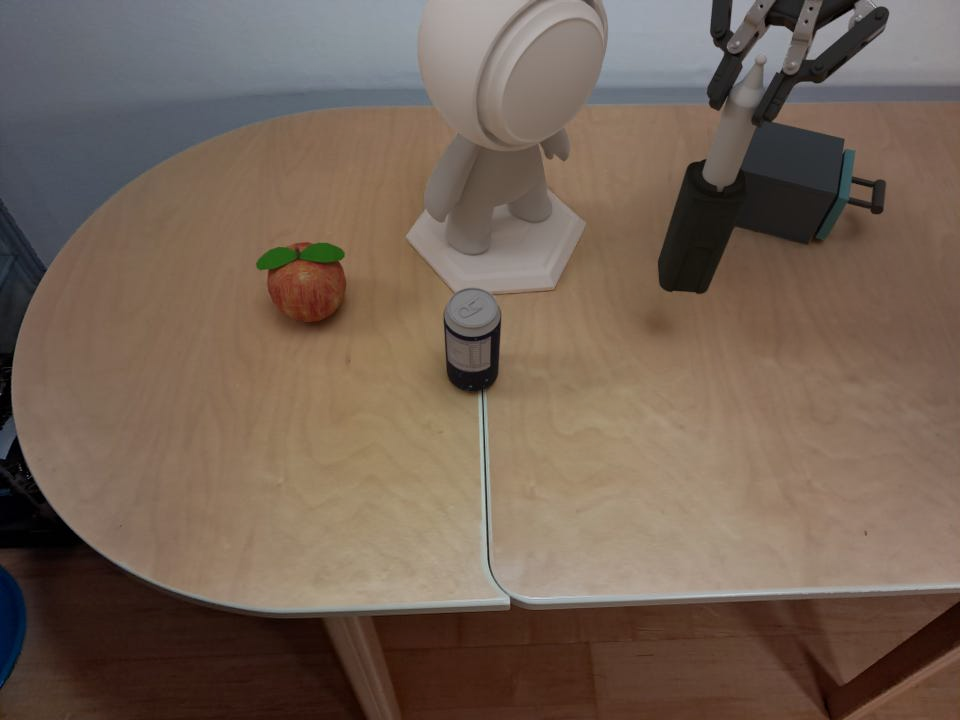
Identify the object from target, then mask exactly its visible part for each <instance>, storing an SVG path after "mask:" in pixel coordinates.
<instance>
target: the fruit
mask: <svg viewBox="0 0 960 720" xmlns="http://www.w3.org/2000/svg"><path fill="white" fill-rule="evenodd" d="M345 255H346V252H345V251H344V250H343V249H342V248H341V247H339V246H337V245H334V244H332V243H329V242H316V243H313V242H309V241H304V242H303V241H302V242H295V243H293V244H290V245H287V246H277V247H274V248H270V249H269V250H267V251H266V252H265V253H263V254H262V255H261V256H260V257H259V258H258V259H257V261H256V263H255V267H256V269H257V270H258V271H267V281H266V285H267V291H268V294H269V296H270V298H271V300H272V303H273V304H274V305H275V306H276V308H277V309H278V310H279V311H280V312H281V313H282V314H284V315H285V316H286V317H289V318H291V319H293V320H294V321H298V322H306V323H312V322H313V323H314V322H318V321H322V320H324V319H326V318H328V317H329V316H331V315H332V314H333V313H335V312H336V311H337V309H338V308H339V307H340V305H341V304H342V302H343V300H344V297H345V294H346V288H347V278H346V274H345V270H344V267H343V265H342V264H341V262H340V261H342V260H343V259H344V258H345Z"/></svg>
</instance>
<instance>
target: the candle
mask: <svg viewBox="0 0 960 720" xmlns="http://www.w3.org/2000/svg"><path fill="white" fill-rule="evenodd" d="M767 62H768V58H767V56H766V54H763V53H761V54H758V55H757V56H756V57H755V59H754V64H753V65H752V67H750V70H749V71H748V72H746V73H747V74H746V75H745V76H744V77H743V79H742V80H740V81H738V82H737V83H735V84H734V85H733V87H732V88H731V90H730V92H729V94H728V97H727V98H726V100H725V102H724V105H723V109H722V113H721V115H720V118H719V122H718V124H717V127H716V130H715V133H714V135H713V139H712V143H711V145H710V148H709V151H708V154H707V157H706V158H703V159H702V160H700V161H692V162H691V163H689V164H688V165H687V167H686V169H685V173H684V176H683V179H682V182H681V185H680V189H679V191H678V195H677V198H676V201H675V205H674V207H673V210H672V214H671V218H670V220H669V224H668V227H667V230H666V234H665V236H664V239H663V242H662V246H661V249H660V252H659V255H658V259H657V273H658V274H657V275H658V286H659V287H660V288H661V289H662V290H663V291H665V292H668V293H673V292H683V293H694V294H696V295H702V294H705V293H707V292H708V291H709V289H710V286H711V283H712V282H713V279H714V276H715V274H716V272H717V268H718V267H719V265H720V262H721V260H722V257H723V255H724V253H725V250H726V248H727V245H728V243H729V240H730V238H731V236H732V233H733V231H734V229H735V227H736V226H735V224H736V222H737V219H738V217H739V215H740V212H741V210H742V208H743V205H744V203H745V200H746V198H747V190H746V184H745V175H744V172H743V170H742V169H741V168H740V167H741V164H742V162H743V159H744V156H745V154H746V151H747V149H748V146H749V144H750V141H751V139H752V136H753V134H754V131H755V128H756V126H755V125H752V122H751V119H752V116H753V114H754V112H755V110H756V109H757V107H758V105H759V103H760V101H761V99H762V98H763V96H764V94H765V92H766V89H765V86H764V71H765V65H766V63H767Z"/></svg>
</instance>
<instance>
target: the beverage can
mask: <svg viewBox="0 0 960 720" xmlns="http://www.w3.org/2000/svg"><path fill="white" fill-rule="evenodd" d="M442 315H443V331H444V333H443V335H444V349H445V351H444V352H445V363H446V364H445V367H446V375H447V379H448V381H449V382H450V383H451V384H452V385H453V386H454V387H455V388H457V389H459V390H461V391H464V392H469V393H476V392H482V391H484V390H486V389H489V388H490V387H491V386H492V385H494V383H495V382H496V380H497V378H498V376H499V371H500V370H499V369H500V367H499V366H500V350H501V349H500V348H501V333H502V332H501V331H502V310H501V308H500V306H499V304H498V302H497V300H496V298H495V297H494V295H492V294H490V293H489V292H488V291H486V290H483V289H480V288H465V289H461V290H459V291H457V292H456V293H454V292H453V294H452V295H451V296H450V297H449V299H448V301H447V304H446V305H445V308H444V309H443V314H442Z"/></svg>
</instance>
